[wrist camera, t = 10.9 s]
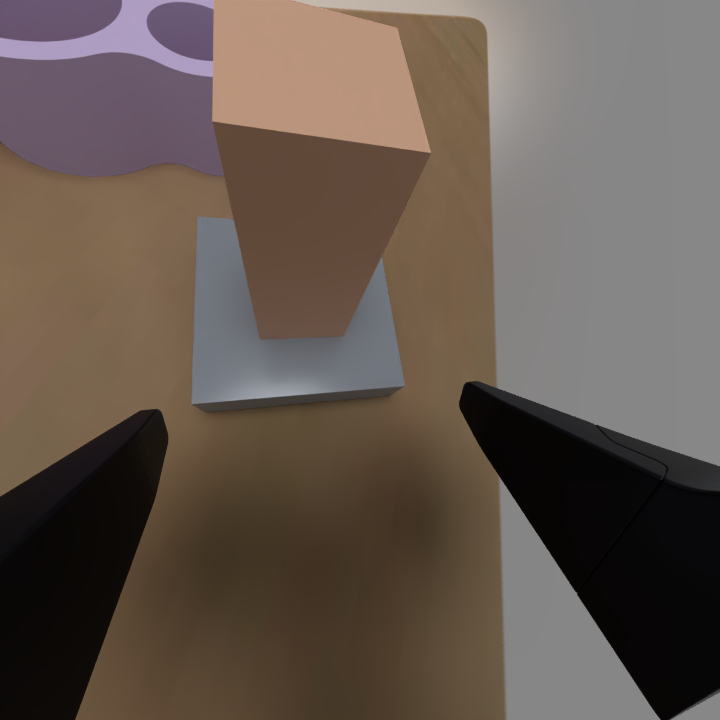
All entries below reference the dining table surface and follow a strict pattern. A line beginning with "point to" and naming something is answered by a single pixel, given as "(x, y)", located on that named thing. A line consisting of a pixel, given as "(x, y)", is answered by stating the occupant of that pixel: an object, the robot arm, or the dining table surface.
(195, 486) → the dining table surface
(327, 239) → the tan block
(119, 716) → the dining table surface
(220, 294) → the plate
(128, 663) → the dining table surface
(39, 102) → the clip
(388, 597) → the dining table surface
